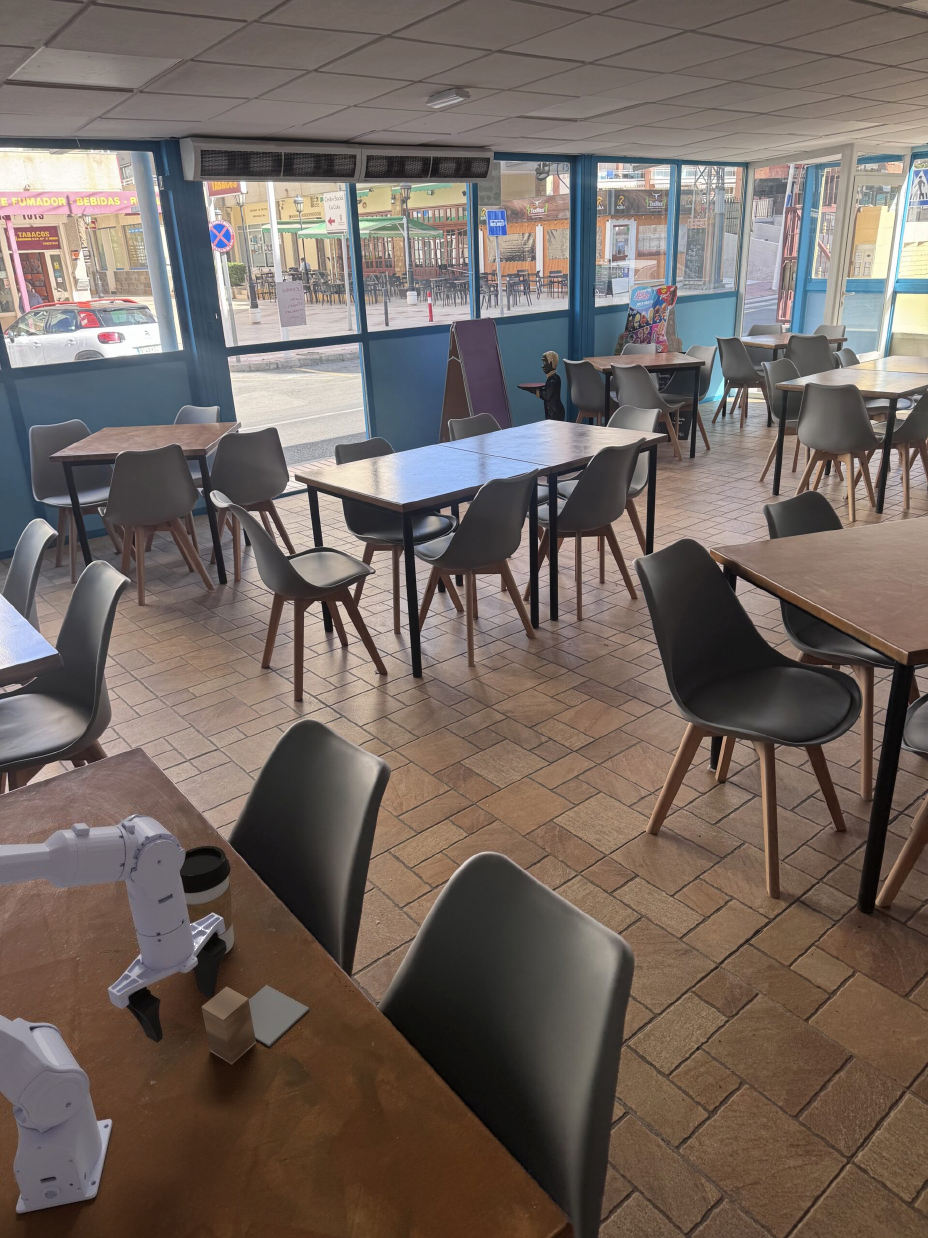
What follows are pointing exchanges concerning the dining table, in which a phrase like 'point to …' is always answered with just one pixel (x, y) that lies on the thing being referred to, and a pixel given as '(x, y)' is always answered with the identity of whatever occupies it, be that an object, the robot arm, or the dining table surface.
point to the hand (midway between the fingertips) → (181, 1015)
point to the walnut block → (229, 1024)
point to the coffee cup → (208, 887)
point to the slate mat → (273, 1014)
